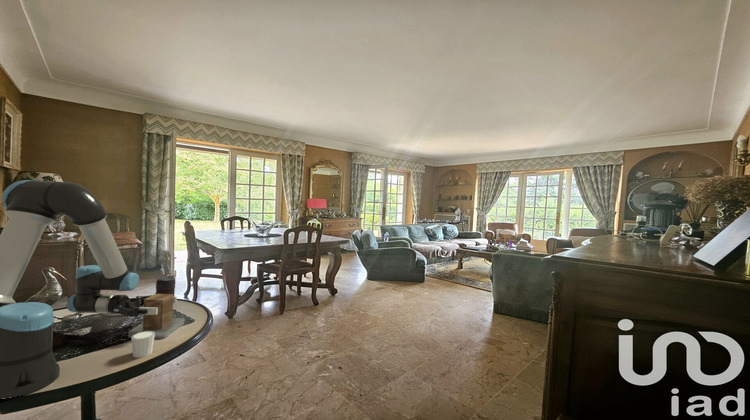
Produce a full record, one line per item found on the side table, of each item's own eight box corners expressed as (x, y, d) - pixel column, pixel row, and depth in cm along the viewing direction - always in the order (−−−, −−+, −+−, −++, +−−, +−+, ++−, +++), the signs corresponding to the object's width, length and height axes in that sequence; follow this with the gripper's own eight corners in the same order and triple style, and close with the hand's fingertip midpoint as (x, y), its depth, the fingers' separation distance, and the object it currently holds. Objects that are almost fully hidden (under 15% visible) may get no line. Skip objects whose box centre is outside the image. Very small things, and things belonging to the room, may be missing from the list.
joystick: (128, 337, 118) (129, 314, 118) (151, 323, 132) (151, 302, 132) (165, 338, 120) (166, 315, 120) (184, 323, 134) (184, 303, 134)
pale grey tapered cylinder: (144, 359, 104) (145, 339, 104) (125, 357, 105) (126, 338, 104) (158, 349, 111) (159, 331, 111) (141, 348, 111) (141, 330, 111)
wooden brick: (142, 328, 122) (144, 299, 122) (154, 320, 129) (155, 293, 129) (161, 328, 123) (163, 300, 122) (172, 321, 130) (173, 294, 130)
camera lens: (164, 311, 146) (165, 281, 146) (150, 309, 148) (152, 279, 147) (178, 305, 154) (179, 277, 153) (165, 303, 156) (166, 275, 155)
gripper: (134, 302, 136) (182, 303, 139) (87, 325, 112) (147, 326, 114) (134, 286, 136) (183, 287, 138) (88, 305, 111) (148, 307, 114)
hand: (167, 305), depth 126 cm, fingers open, 13 cm apart
